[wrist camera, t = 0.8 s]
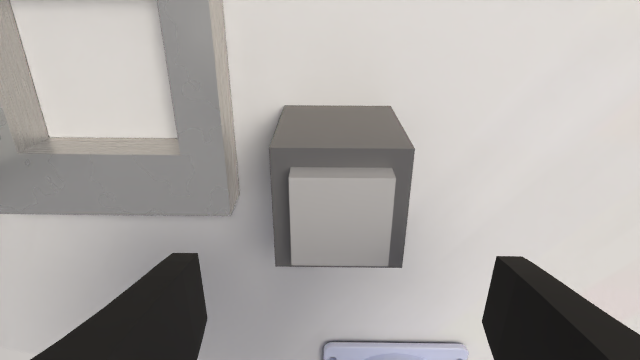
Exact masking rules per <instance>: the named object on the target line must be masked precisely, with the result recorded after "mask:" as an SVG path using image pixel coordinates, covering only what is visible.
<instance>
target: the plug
mask: <svg viewBox="0 0 640 360" xmlns="http://www.w3.org/2000/svg"><path fill="white" fill-rule="evenodd" d="M414 151H415V148H414V146H413V145H412V143H411V141H410V139H409V138H408V136H407V134H406V132H405V131H404V129H403V127H402V125H401V123H400V122H399V120H398V118H397V116H396V115H395V113H394V111H393V109H392V108H391V106H293V105H285V106H284V109H283V112H282V114H281V117H280V120H279V122H278V125H277V128H276V131H275V133H274V136H273V139H272V141H271V144H270V147H269V153H270V172H271V190H272V209H273V228H274V247H275V265H276V266H287V267H380V268H402V263H403V254H404V245H405V235H406V226H407V217H408V207H409V198H410V189H411V179H412V170H413V161H414Z"/></svg>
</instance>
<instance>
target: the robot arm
mask: <svg viewBox="0 0 640 360" xmlns="http://www.w3.org/2000/svg"><path fill="white" fill-rule="evenodd" d="M206 322H207V312H206V306H205V299H204V292H203V286H202V279H201V272H200V265H199V259H198V253H172V254H171V255H169V256H168V257H167V258H165V259H164V260H163V261H162V262H160V263H159V264H158V265H157V266H155V267H154V268H153V269H152V270H150V271H149V272H148V273H147V274H146V275H144V276H143V277H142V278H141V279H139V280H138V281H137V282H136V283H135V284H133V285H132V286H131V287H129V288H128V289H127V290H126V291H124V292H123V293H122V294H121V295H119V296H118V297H117V298H116V299H114V300H113V301H112V302H111V303H109V304H108V305H107V306H106V307H104V308H103V309H102V310H100V311H99V312H97V313H96V314H95V315H93V316H92V317H91V318H89V319H88V320H87V321H85V322H84V323H82V324H81V325H80V326H78V327H77V328H76V329H74V330H73V331H71V332H70V333H69V334H67V335H66V336H65V337H63V338H62V339H61V340H59V341H58V342H56V343H55V344H53V345H52V346H50V347H49V348H47V349H46V350H44V351H43V352H41V353H40V354H38V355H37V356H35V357H34V358H32V359H31V360H197V358H198V354H199V350H200V346H201V343H202V339H203V334H204V330H205V326H206ZM482 323H483V327H484V330H485V333H486V336H487V340H488V343H489V346H490V349H491V352H492V355H493V358H494V360H640V335H639V334H638V333H636V332H635V331H633V330H631V329H630V328H628V327H627V326H625V325H624V324H622V323H621V322H619V321H618V320H616V319H614V318H613V317H611V316H610V315H608V314H607V313H605V312H604V311H602V310H601V309H599V308H598V307H597V306H595V305H594V304H592V303H591V302H589V301H588V300H586V299H585V298H583V297H582V296H580V295H579V294H578V293H576V292H575V291H573V290H572V289H570V288H569V287H567V286H566V285H565V284H563V283H562V282H560V281H559V280H557V279H556V278H554V277H553V276H551V275H550V274H549V273H547V272H546V271H544V270H543V269H541V268H540V267H538V266H537V265H535V264H534V263H532V262H530V261H529V260H527V259H525V258H524V257H514V256H497V257H496V261H495V265H494V270H493V274H492V279H491V283H490V288H489V292H488V297H487V301H486V305H485V310H484V314H483V319H482ZM468 355H469V353H468V350H467V348H466V346H465V345H463V344H442V343H362V342H330V343H327V344H326V345H325V346H324V360H468ZM330 357H335V358H330Z"/></svg>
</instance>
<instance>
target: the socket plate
mask: <svg viewBox="0 0 640 360" xmlns="http://www.w3.org/2000/svg"><path fill="white" fill-rule="evenodd" d="M157 3H158V10H159V17H160V23H161V30H162V36H163V43H164V50H165V56H166V63H167V70H168V76H169V83H170V89H171V96H172V103H173V109H174V116H175V122H176V129H177V136H178V139H177V138H49V136H48V133H47V129H46V126H45V123H44V119H43V116H42V112H41V109H40V105H39V102H38V98H37V95H36V92H35V88H34V85H33V81H32V78H31V74H30V71H29V68H28V64H27V61H26V57H25V54H24V50H23V47H22V43H21V40H20V37H19V33H18V30H17V26H16V23H15V19H14V16H13V13H12V9H11V6H10V2H9V0H0V214H75V215H183V216H231V214H232V212H233V209H234V207H235V205H236V202H237V200H238V198H239V195H240V192H239V180H238V169H237V158H236V147H235V136H234V124H233V113H232V102H231V91H230V80H229V69H228V57H227V46H226V35H225V24H224V13H223V1H222V0H157Z"/></svg>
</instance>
